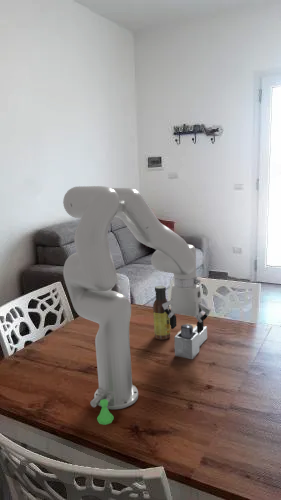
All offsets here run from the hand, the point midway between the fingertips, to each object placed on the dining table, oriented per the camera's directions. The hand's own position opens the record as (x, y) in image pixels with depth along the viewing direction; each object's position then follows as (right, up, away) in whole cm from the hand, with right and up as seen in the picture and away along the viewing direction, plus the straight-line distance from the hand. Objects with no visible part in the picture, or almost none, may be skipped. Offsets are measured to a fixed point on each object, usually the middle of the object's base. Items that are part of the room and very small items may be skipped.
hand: (186, 329), depth 138 cm
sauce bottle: (-7, -6, +16) cm, 19 cm away
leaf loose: (+6, -7, +9) cm, 13 cm away
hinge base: (+2, -7, +7) cm, 11 cm away
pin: (+1, -9, +2) cm, 9 cm away
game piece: (-25, -17, -32) cm, 44 cm away
